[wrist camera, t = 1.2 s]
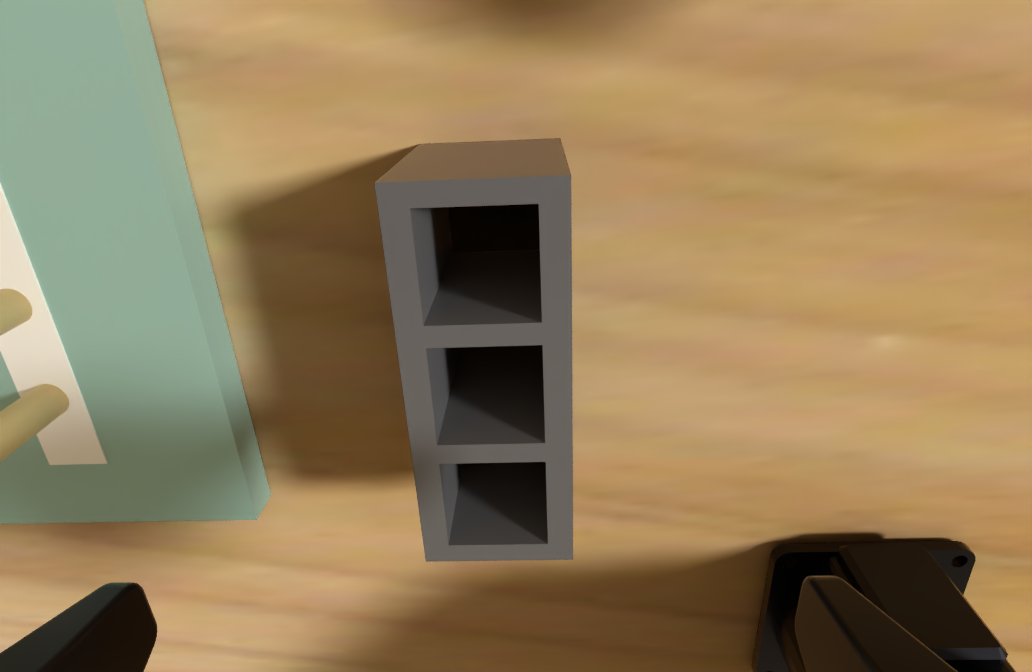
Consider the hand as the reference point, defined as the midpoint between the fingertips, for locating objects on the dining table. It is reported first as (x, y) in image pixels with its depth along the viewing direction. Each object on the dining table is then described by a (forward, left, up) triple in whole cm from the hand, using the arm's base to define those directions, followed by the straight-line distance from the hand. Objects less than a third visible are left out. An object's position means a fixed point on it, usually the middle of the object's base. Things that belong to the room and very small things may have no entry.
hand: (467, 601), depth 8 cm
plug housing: (0, 0, -10) cm, 10 cm away
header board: (+1, +13, -10) cm, 17 cm away
